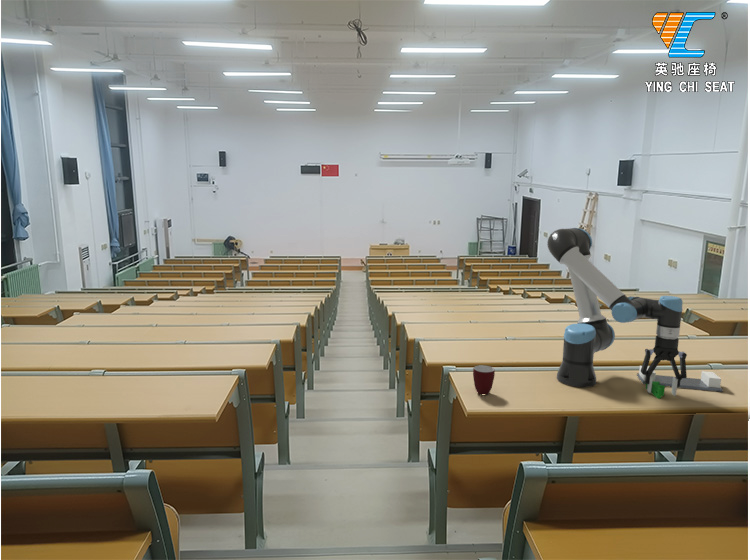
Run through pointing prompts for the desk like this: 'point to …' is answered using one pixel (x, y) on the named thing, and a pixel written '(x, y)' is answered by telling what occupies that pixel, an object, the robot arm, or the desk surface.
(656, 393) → the pipe clamp
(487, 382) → the mug
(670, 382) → the mounting rail
